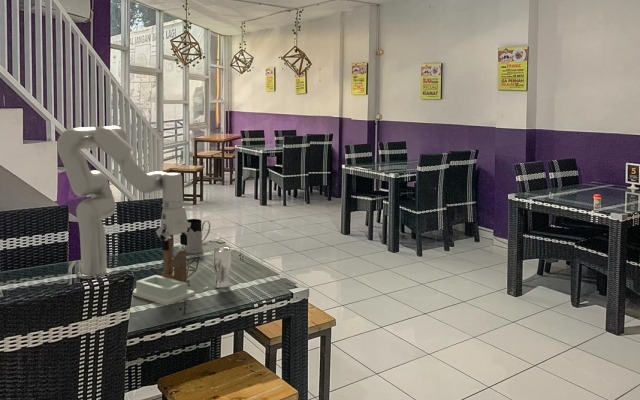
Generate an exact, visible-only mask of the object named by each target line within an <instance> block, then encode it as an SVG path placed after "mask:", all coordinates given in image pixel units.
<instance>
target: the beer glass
mask: <svg viewBox="0 0 640 400" xmlns="http://www.w3.org/2000/svg"><path fill="white" fill-rule="evenodd" d="M231 250H232V249H231V248H230V247H227V246H226V247H224V246H219V247H215V248H213V251H212V252H213V253H212V264H213V269H214V270H213V271H214V277H215V278H214V285H213V287H215V288H216V289H228V288H230V285H231V284H230V271H231V265H232V254H231V253H232V251H231Z"/></svg>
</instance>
